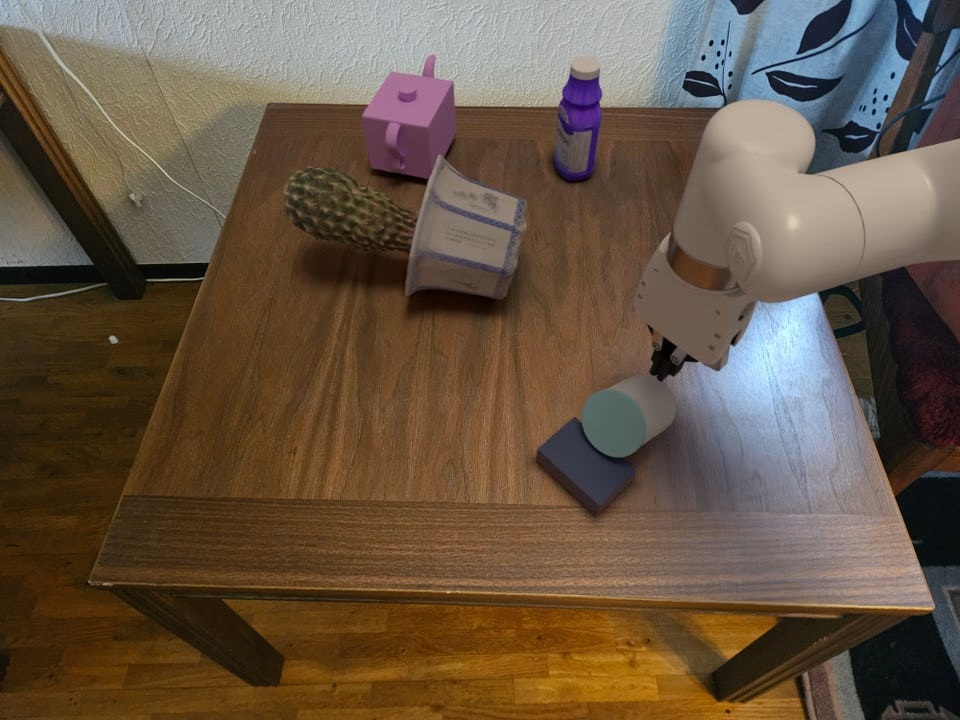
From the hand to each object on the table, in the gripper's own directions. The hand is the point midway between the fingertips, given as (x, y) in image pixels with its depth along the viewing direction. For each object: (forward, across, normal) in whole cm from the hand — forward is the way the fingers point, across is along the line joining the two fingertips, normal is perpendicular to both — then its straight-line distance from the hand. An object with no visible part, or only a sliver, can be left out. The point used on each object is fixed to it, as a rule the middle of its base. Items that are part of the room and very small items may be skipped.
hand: (663, 370), depth 68 cm
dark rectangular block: (+8, 0, +12) cm, 14 cm away
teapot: (+9, +56, -11) cm, 57 cm away
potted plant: (+9, +36, +6) cm, 37 cm away
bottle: (+9, +36, -26) cm, 45 cm away
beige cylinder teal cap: (+8, 0, +5) cm, 10 cm away
